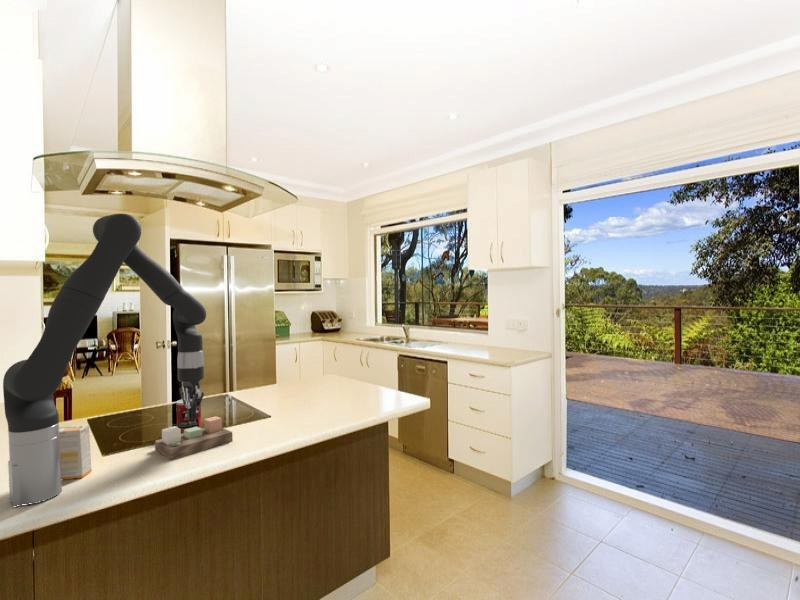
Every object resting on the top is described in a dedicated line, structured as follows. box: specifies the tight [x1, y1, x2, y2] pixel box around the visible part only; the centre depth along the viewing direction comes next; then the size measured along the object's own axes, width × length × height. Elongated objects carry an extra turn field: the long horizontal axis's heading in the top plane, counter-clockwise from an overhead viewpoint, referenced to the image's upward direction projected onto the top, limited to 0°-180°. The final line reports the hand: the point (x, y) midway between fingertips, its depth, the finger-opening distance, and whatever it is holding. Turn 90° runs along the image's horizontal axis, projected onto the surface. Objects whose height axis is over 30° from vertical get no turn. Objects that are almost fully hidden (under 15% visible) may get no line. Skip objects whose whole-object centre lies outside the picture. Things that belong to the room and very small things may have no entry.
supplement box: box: [59, 424, 93, 480], centre depth 112 cm, size 8×5×13 cm, turn 99°
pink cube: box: [203, 415, 223, 433], centre depth 139 cm, size 4×4×4 cm
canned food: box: [175, 398, 202, 434], centre depth 148 cm, size 8×8×11 cm
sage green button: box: [184, 427, 202, 439], centre depth 134 cm, size 4×4×4 cm
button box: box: [154, 427, 233, 460], centre depth 133 cm, size 19×12×4 cm, turn 139°
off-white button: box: [161, 425, 181, 445], centre depth 129 cm, size 4×4×4 cm
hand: (191, 419), depth 134 cm, fingers closed
